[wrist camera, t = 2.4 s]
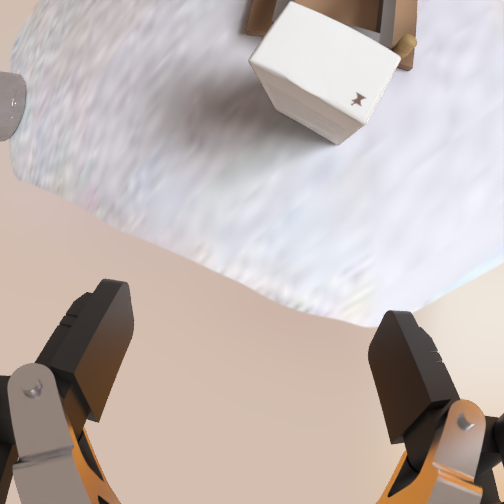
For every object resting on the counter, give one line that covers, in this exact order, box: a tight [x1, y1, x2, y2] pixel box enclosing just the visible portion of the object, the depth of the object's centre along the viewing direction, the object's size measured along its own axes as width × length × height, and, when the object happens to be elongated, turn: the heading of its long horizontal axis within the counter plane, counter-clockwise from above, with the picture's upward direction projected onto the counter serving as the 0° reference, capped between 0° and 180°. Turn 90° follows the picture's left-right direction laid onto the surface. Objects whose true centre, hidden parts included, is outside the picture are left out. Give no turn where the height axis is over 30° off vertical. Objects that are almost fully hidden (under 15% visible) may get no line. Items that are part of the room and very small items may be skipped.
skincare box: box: [248, 1, 401, 145], centre depth 17 cm, size 6×4×12 cm
